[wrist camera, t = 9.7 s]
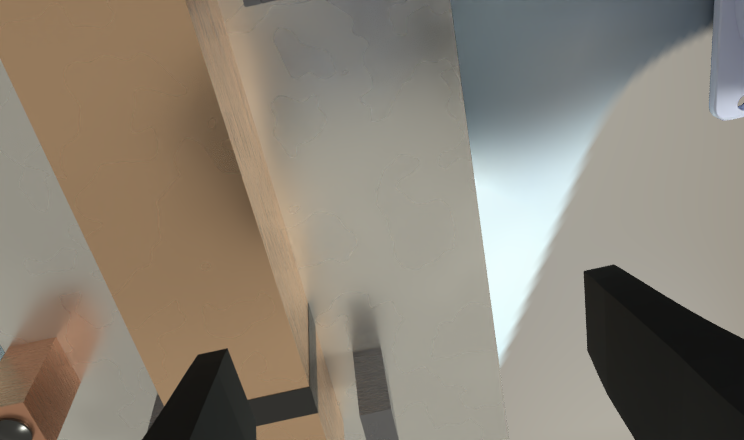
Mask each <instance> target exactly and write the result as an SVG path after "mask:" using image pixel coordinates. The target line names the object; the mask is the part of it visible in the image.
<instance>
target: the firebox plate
mask: <svg viewBox="0 0 744 440" xmlns="http://www.w3.org/2000/svg"><path fill="white" fill-rule="evenodd" d="M218 4H219V7H220V10H221V14H222V17H223V21H224V24H225V27H226V31H227V34H228V37H229V41H230V44H231V47H232V51H233V54H234V57H235V61H236V64H237V67H238V71H239V74H240V77H241V81H242V84H243V88H244V91H245V94H246V98H247V101H248V104H249V108H250V111H251V114H252V118H253V121H254V124H255V128H256V131H257V134H258V138H259V141H260V144H261V148H262V151H263V155H264V158H265V161H266V165H267V168H268V171H269V175H270V178H271V181H272V185H273V188H274V191H275V195H276V198H277V201H278V205H279V208H280V211H281V215H282V218H283V222H284V225H285V228H286V232H287V235H288V238H289V242H290V245H291V248H292V252H293V255H294V258H295V262H296V265H297V268H298V272H299V275H300V279H301V282H302V285H303V289H304V292H305V295H306V299H307V302H308V303H309V306H310V310H311V313H312V316H313V320H314V323H315V326H316V332H317V335H318V339H319V342H320V346H321V349H322V352H323V356H324V359H325V362H326V366H327V369H328V372H329V376H330V379H331V382H332V386H333V389H334V392H335V396H336V399H337V402H338V406H339V409H340V413H341V416H342V419H343V424H344V437H345V440H503V439H508V438H509V435H508V427H507V420H506V413H505V405H504V397H503V390H502V383H501V375H500V367H499V360H498V352H497V345H496V338H495V330H494V323H493V315H492V308H491V300H490V293H489V285H488V278H487V270H486V263H485V255H484V248H483V240H482V233H481V226H480V218H479V211H478V203H477V196H476V188H475V181H474V173H473V166H472V158H471V151H470V143H469V136H468V128H467V121H466V113H465V106H464V99H463V91H462V84H461V76H460V69H459V61H458V54H457V46H456V39H455V31H454V24H453V16H452V9H451V1H450V0H218ZM0 345H1V347H2V349H3V350H4V352H5V354H4V356H3V358H2V359H1V361H0V440H142V439H143V437H144V436H145V434H146V433H147V431H148V430H149V428H150V427H151V425H152V424H153V422H154V421H155V419H156V418H157V416H158V415H159V413H160V412H161V410H162V409H163V407H164V405H163V403H162V401H161V399H160V397H159V395H158V393H157V390H156V388H155V386H154V384H153V382H152V380H151V378H150V376H149V373H148V371H147V369H146V367H145V365H144V363H143V361H142V359H141V356H140V354H139V352H138V350H137V348H136V346H135V344H134V342H133V339H132V337H131V335H130V333H129V331H128V329H127V327H126V325H125V323H124V320H123V318H122V316H121V314H120V312H119V310H118V308H117V306H116V303H115V301H114V299H113V297H112V295H111V293H110V291H109V289H108V286H107V284H106V282H105V280H104V278H103V276H102V274H101V272H100V269H99V267H98V265H97V263H96V261H95V259H94V257H93V255H92V252H91V250H90V248H89V246H88V244H87V242H86V240H85V238H84V236H83V233H82V231H81V229H80V227H79V225H78V223H77V221H76V219H75V216H74V214H73V212H72V210H71V208H70V206H69V204H68V202H67V199H66V197H65V195H64V193H63V191H62V189H61V187H60V185H59V182H58V180H57V178H56V176H55V174H54V172H53V170H52V168H51V165H50V163H49V161H48V159H47V157H46V155H45V153H44V151H43V149H42V146H41V144H40V142H39V140H38V138H37V136H36V134H35V132H34V129H33V127H32V125H31V123H30V121H29V119H28V117H27V115H26V112H25V110H24V108H23V106H22V104H21V102H20V100H19V98H18V95H17V93H16V91H15V89H14V87H13V85H12V83H11V81H10V78H9V76H8V74H7V72H6V70H5V68H4V66H3V64H2V62H1V59H0Z"/></svg>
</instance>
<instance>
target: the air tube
mask: <svg viewBox="0 0 744 440" xmlns="http://www.w3.org/2000/svg"><path fill="white" fill-rule="evenodd" d="M0 59H1V62H2V64H3V66H4V68H5V70H6V72H7V74H8V76H9V78H10V81H11V83H12V85H13V87H14V89H15V91H16V93H17V95H18V98H19V100H20V102H21V104H22V106H23V108H24V110H25V112H26V115H27V117H28V119H29V121H30V123H31V125H32V127H33V129H34V132H35V134H36V136H37V138H38V140H39V142H40V144H41V146H42V149H43V151H44V153H45V155H46V157H47V159H48V161H49V163H50V165H51V168H52V170H53V172H54V174H55V176H56V178H57V180H58V182H59V185H60V187H61V189H62V191H63V193H64V195H65V197H66V199H67V202H68V204H69V206H70V208H71V210H72V212H73V214H74V216H75V219H76V221H77V223H78V225H79V227H80V229H81V231H82V233H83V236H84V238H85V240H86V242H87V244H88V246H89V248H90V250H91V252H92V255H93V257H94V259H95V261H96V263H97V265H98V267H99V269H100V272H101V274H102V276H103V278H104V280H105V282H106V284H107V286H108V289H109V291H110V293H111V295H112V297H113V299H114V301H115V303H116V306H117V308H118V310H119V312H120V314H121V316H122V318H123V320H124V323H125V325H126V327H127V329H128V331H129V333H130V335H131V337H132V339H133V342H134V344H135V346H136V348H137V350H138V352H139V354H140V356H141V359H142V361H143V363H144V365H145V367H146V369H147V371H148V373H149V376H150V378H151V380H152V382H153V384H154V386H155V388H156V390H157V393H158V395H159V397H160V399H161V401H162V403H163V405H164V406H165V404H166V403H167V401H168V400H169V398H170V397H171V395H172V393H173V392H174V390H175V389H176V387H177V386H178V384H179V383H180V381H181V379H182V378H183V376H184V375H185V373H186V372H187V370H188V368H189V367H190V365H191V364H192V362H193V361H194V360H195V358H196V357H197V355H199V354H203V353H208V352H212V351H217V350H222V349H226V348H228V351H229V353H230V356H231V359H232V361H233V364H234V366H235V369H236V371H237V374H238V377H239V379H240V382H241V384H242V387H243V390H244V392H245V395H246V397H247V400H248V403H249V405H250V408H251V410H252V413H253V415H254V418H255V421H256V439H257V440H345V437H344V424H343V419H342V416H341V413H340V409H339V406H338V402H337V399H336V396H335V392H334V389H333V386H332V382H331V379H330V376H329V372H328V369H327V366H326V362H325V359H324V356H323V352H322V349H321V346H320V342H319V339H318V335H317V332H316V326H315V323H314V320H313V316H312V313H311V310H310V306H309V303H308V302H307V299H306V295H305V292H304V289H303V285H302V282H301V279H300V275H299V272H298V268H297V265H296V262H295V258H294V255H293V252H292V248H291V245H290V242H289V238H288V235H287V232H286V228H285V225H284V222H283V218H282V215H281V211H280V208H279V205H278V201H277V198H276V195H275V191H274V188H273V185H272V181H271V178H270V175H269V171H268V168H267V165H266V161H265V158H264V155H263V151H262V148H261V144H260V141H259V138H258V134H257V131H256V128H255V124H254V121H253V118H252V114H251V111H250V108H249V104H248V101H247V98H246V94H245V91H244V88H243V84H242V81H241V77H240V74H239V71H238V67H237V64H236V61H235V57H234V54H233V51H232V47H231V44H230V41H229V37H228V34H227V31H226V27H225V24H224V21H223V17H222V14H221V10H220V7H219V4H218V0H0Z"/></svg>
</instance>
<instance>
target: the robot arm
mask: <svg viewBox="0 0 744 440" xmlns="http://www.w3.org/2000/svg"><path fill="white" fill-rule="evenodd" d="M742 96H744V0H715V1H714V19H713V38H712V57H711V76H710V95H709V110H710V112H711V113H712V115H713V116H715V117H717V118H719V119H721V120H731V119H736V118H741V117H744V103H743V104H742V105H741V106H738V105H737V104H738V101H739V100H740V98H741V97H742ZM584 287H585V308H586V329H587V350H588V353H589V355H590V357H591V359H592V361H593V364H594V366H595V369H596V370H597V373H598V375H599V378H600V379H601V382H602V384H603V386H604V388H605V390H606V392H607V395H608V396H609V398H610V399H611V401H612V403H613V405H614V406H615V408H616V409H617V411H618V412H619V414H620V416H621V418H622V419H623V421H624V422H625V424H626V426H627V427H628V429H629V430H630V432H631V433H632V435H633V437H634V439H635V440H744V339H742V338H740V337H739V336H737V335H735V334H733V333H731V332H729V331H727V330H725V329H723V328H721V327H719V326H717V325H715V324H713V323H712V322H710V321H708V320H706V319H704V318H702V317H701V316H699V315H697V314H695V313H693V312H691V311H690V310H688V309H686V308H685V307H683V306H681V305H680V304H678V303H676V302H674V301H673V300H671V299H670V298H668V297H666V296H665V295H663V294H661V293H660V292H658V291H656V290H655V289H653V288H652V287H650V286H648V285H647V284H645V283H644V282H642V281H640V280H639V279H637V278H635V277H634V276H632V275H630V274H629V273H627V272H626V271H624V270H623V269H621V268H619V267H617V266H616V265H610V266H605V267H601V268H596V269H591V270H587V271H584ZM142 440H257V439H256V421H255V418H254V415H253V413H252V410H251V408H250V405H249V403H248V400H247V397H246V395H245V392H244V390H243V387H242V384H241V382H240V379H239V377H238V374H237V371H236V369H235V366H234V364H233V361H232V359H231V356H230V353H229V351H228V348H226V349H222V350H217V351H212V352H208V353H203V354H199V355H197V357H196V358H195V360H194V361H193V362H192V364H191V365H190V367H189V368H188V370H187V372H186V373H185V375H184V376H183V378H182V379H181V381H180V383H179V384H178V386H177V387H176V389H175V390H174V392H173V393H172V395H171V397H170V398H169V400H168V401H167V403H166V404H165V406H164V407H163V409H162V410H161V412H160V413H159V415H158V416H157V418H156V419H155V421H154V422H153V424H152V425H151V427H150V428H149V430H148V431H147V433H146V434H145V436H144V437H143V439H142Z"/></svg>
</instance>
